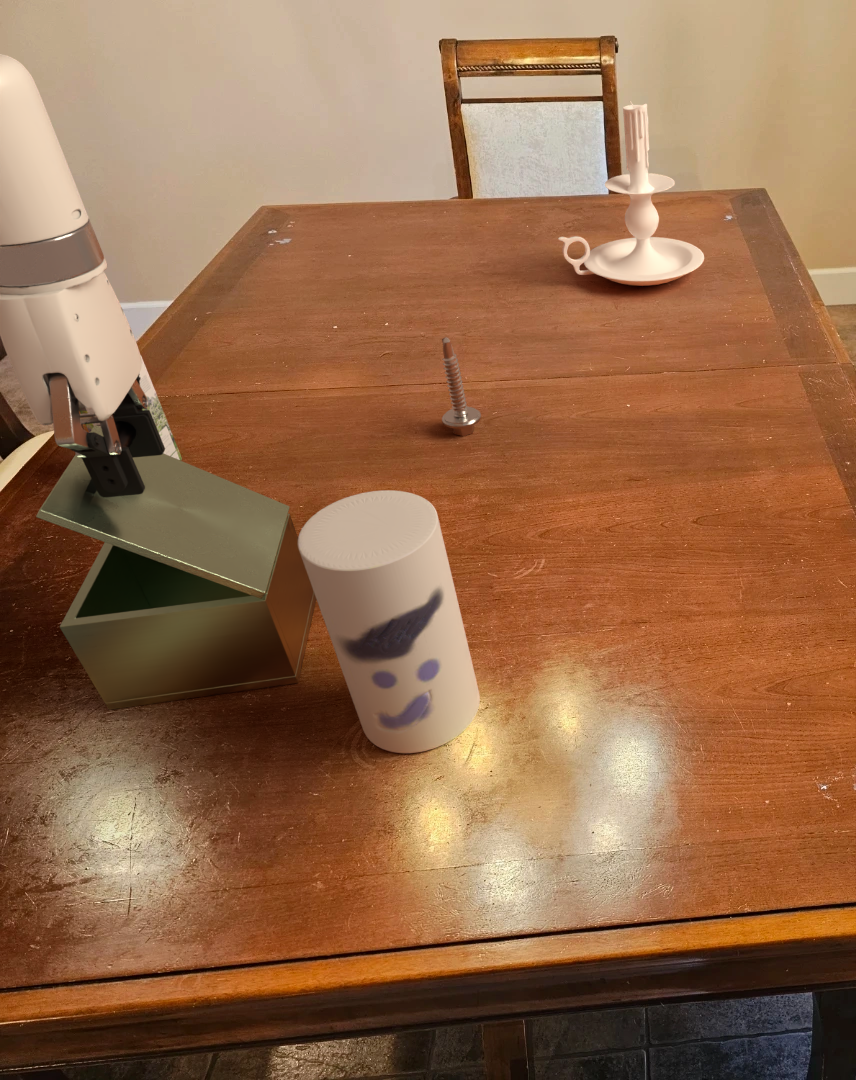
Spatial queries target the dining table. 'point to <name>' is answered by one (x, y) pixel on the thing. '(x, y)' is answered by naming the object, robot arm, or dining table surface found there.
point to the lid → (176, 518)
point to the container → (393, 617)
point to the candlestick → (638, 222)
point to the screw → (457, 396)
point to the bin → (187, 628)
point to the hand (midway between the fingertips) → (133, 471)
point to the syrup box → (155, 411)
